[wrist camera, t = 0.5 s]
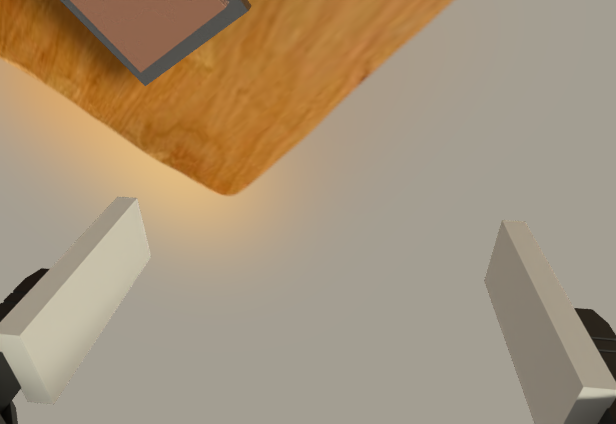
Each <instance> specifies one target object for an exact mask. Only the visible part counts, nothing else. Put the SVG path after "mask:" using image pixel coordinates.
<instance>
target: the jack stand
mask: <svg viewBox="0 0 616 424" xmlns="http://www.w3.org/2000/svg"><path fill="white" fill-rule="evenodd" d="M60 1H61V2H62V3H63V4H64V5H65V6H66V7H67V8H68V9H69V10H70V11H71V12H72V13H73V14H74V15H75V16H76V17H77V18H78V19H79V20H80V21H81V22H82V23H83V24H84V25H85V26H86V27H87V28H88V29H89V30H90V31H91V32H92V33H93V34H94V35H95V36H96V37H97V38H98V39H99V40H100V41H101V42H102V43H103V44H104V45H105V46H106V47H107V48H108V49H109V50H110V51H111V52H112V53H113V54H114V55H115V56H116V57H117V58H118V59H119V60H120V61H121V62H122V63H123V64H124V65H125V66H126V67H127V68H128V69H129V70H130V71H131V72H132V73H133V74H134V75H135V76H136V77H137V78H138V79H139V80H140V81H141V82H142V83H143V84H144V85H145V86H146V85H148V84H149V83H150V82H152V81H153V80H154V79H156V78H157V77H159V76H160V75H161V74H163V73H164V72H165V71H167V70H168V69H169V68H171V67H172V66H174V65H175V64H176V63H178V62H179V61H180V60H182V59H183V58H185V57H186V56H187V55H189V54H190V53H191V52H193V51H194V50H195V49H197V48H198V47H200V46H201V45H202V44H204V43H205V42H206V41H208V40H209V39H211V38H212V37H213V36H215V35H216V34H217V33H219V32H220V31H221V30H223V29H224V28H226V27H227V26H228V25H230V24H231V23H232V22H234V21H235V20H237V19H238V18H239V17H241V16H242V15H243V14H245V13H246V12H247V11H249V9H250V7H251V4H250V3H249V2H248V0H60Z"/></svg>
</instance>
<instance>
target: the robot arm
mask: <svg viewBox="0 0 616 424" xmlns="http://www.w3.org/2000/svg"><path fill="white" fill-rule="evenodd" d="M150 257H151V255H150V251H149V247H148V242H147V238H146V234H145V229H144V225H143V221H142V217H141V213H140V208H139V204H138V200H137V198H128V197H117V198H116V199H115V200H114V201H113V202H112V203H111V204H110V205H109V206H108V207H107V209H106V210H105V211H104V212H103V213H102V214H101V215H100V216H99V217H98V218H97V219H96V220H95V221H94V222H93V224H92V225H91V226H90V227H89V228H88V229H87V230H86V231H85V232H84V233H83V234H82V235H81V236H80V237H79V239H78V240H77V241H76V242H75V243H74V244H73V245H72V246H71V247H70V248H69V249H68V250H67V251H66V253H65V254H64V255H63V256H62V257H61V258H60V259H59V260H58V261H57V262H56V263H55V264H54V265H53V266H52V267H51V268H50V269H40V270H38V271H37V272H35V273H33V274H32V275H30V276H29V277H27V278H25V279H24V280H23V281H22V282H21V283H20V284H19V285H18V286H17V287H16V288H15V289H14V291H13V293H11V294H10V295H9V296H8V297H7V298H6V299H5V300H4V302H3V303H1V304H0V424H18V421H17V413H16V407H15V405H14V403H13V402H12V399H13V398H14V397H15V395H16V394H17V393H18V391H19V390H20V389H21V390H22V392H23V394H24V395H25V397H26V399H27V401H28V402H35V403H45V404H55V402H56V401H57V399H58V398H59V396H60V394H61V393H62V391H63V390H64V388H65V387H66V385H67V384H68V382H69V381H70V379H71V378H72V376H73V375H74V373H75V372H76V370H77V369H78V367H79V366H80V364H81V362H82V361H83V359H84V358H85V356H86V355H87V353H88V352H89V350H90V349H91V347H92V346H93V344H94V342H95V341H96V340H97V338H98V337H99V335H100V334H101V332H102V331H103V329H104V327H105V326H106V324H107V323H108V321H109V320H110V318H111V317H112V315H113V314H114V312H115V311H116V309H117V307H118V306H119V305H120V303H121V302H122V300H123V298H124V297H125V295H126V294H127V292H128V291H129V289H130V288H131V286H132V285H133V283H134V282H135V280H136V279H137V277H138V276H139V274H140V273H141V271H142V270H143V268H144V267H145V265H146V263H147V262H148V260H149V259H150ZM484 281H485V284H486V287H487V290H488V293H489V296H490V298H491V301H492V304H493V307H494V310H495V312H496V315H497V318H498V321H499V324H500V327H501V330H502V332H503V335H504V338H505V341H506V344H507V347H508V350H509V352H510V355H511V358H512V361H513V364H514V367H515V369H516V372H517V375H518V378H519V381H520V383H521V386H522V389H523V392H524V395H525V398H526V401H527V403H528V406H529V409H530V412H531V415H532V418H533V420H534V423H535V424H616V335H615V333H614V332H613V330H612V328H611V327H610V325H609V324H608V323H607V322H606V321H605V320H604V319H603V318H601V317H600V316H599V315H598V314H597V313H596V312H595V311H593V310H591V309H578V308H574V307H573V306H572V304H571V302H570V300H569V298H568V297H567V295H566V293H565V292H564V290H563V288H562V286H561V285H560V283H559V281H558V279H557V277H556V276H555V274H554V272H553V270H552V268H551V267H550V265H549V263H548V261H547V260H546V258H545V256H544V254H543V253H542V251H541V249H540V248H539V246H538V244H537V242H536V240H535V239H534V237H533V235H532V233H531V232H530V230H529V228H528V226H527V224H526V223H525V222H521V221H506V220H503V221H502V222H501V226H500V229H499V232H498V236H497V239H496V243H495V246H494V250H493V253H492V256H491V260H490V263H489V267H488V270H487V274H486V277H485V280H484Z"/></svg>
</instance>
